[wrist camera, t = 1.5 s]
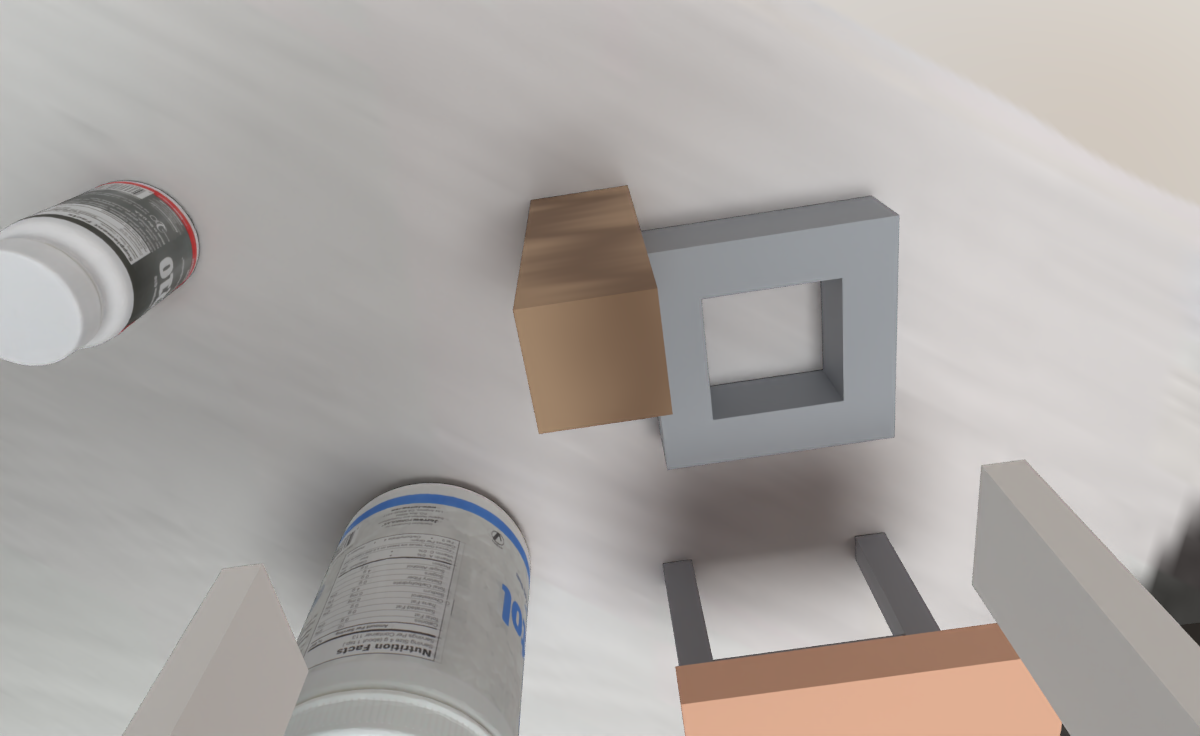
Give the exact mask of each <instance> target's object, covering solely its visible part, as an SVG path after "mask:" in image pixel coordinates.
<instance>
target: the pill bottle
mask: <svg viewBox="0 0 1200 736" xmlns="http://www.w3.org/2000/svg"><path fill="white" fill-rule="evenodd" d="M198 255H199V242H198V237H197V233H196V231H195V228H194V226H193V224H192V222H191V220H190V219H189V217H188V216H187V214H186V213H185V211H184V210H183V209H182V208H181V207H180V206H179V205H178V203H177V202H175V201H174V200H173V199H172V198H171V197H169V196H168V195H167V194H165V193H164V192H162V191H160V190H159V189H157V188H154V187H152V186H149V185H147V184H143V183H139V182H133V181H115V182H110V183H106V184H103V185H100V186H98V187H96V188H94V189H92V190H89V191H87V192H85V193H83V194H81V195H79V196H76V197H74V198H72V199H69V200H67V201H65V202H62V203H60V204H58V205H55V206H53V207H51V208H48V209H46V210H44V211H41V212H39V213H36V214H34V215H32V216H29V217H27V218H24V219H22V220H19V221H17V222H15V223H13V224H12V225H10V226H8V227H6V228H5V229H3V230H2V231H1V232H0V358H1V359H4V360H6V361H10V362H13V363H16V364H21V365H27V366H42V365H48V364H52V363H55V362H58V361H61V360H63V359H64V358H66V357H68V356H69V355H70V354H72V353H74V352H75V351H77V350H78V349H84V348H90V347H94V346H97V345H100V344H102V343H104V342H107V341H108V340H110V339H112V338H113V337H115V336H117V335H118V334H120V333H121V332H122V331H123V330H124V329H126V328H127V327H128V326H129V325H131V324H132V323H133V322H134V321H136V320H137V319H138V318H139V317H141V316H142V315H143V314H145V313H146V312H147V311H148V310H150V309H151V308H152V307H153V306H155V305H156V304H157V303H159V302H160V301H161V300H162V299H164V298H165V297H166V296H168V295H169V294H170V293H172V292H173V291H174V290H175V289H177V288H178V287H179V286H180V285H182V284H183V283H184V282H185V281H186V280H187V279H188V278H189V277H190V275H191V274H192V272H193V271H194V269H195V267H196V264H197V261H198Z"/></svg>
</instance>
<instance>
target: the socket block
mask: <svg viewBox="0 0 1200 736" xmlns="http://www.w3.org/2000/svg"><path fill="white" fill-rule="evenodd" d="M641 233H642V237H643V240H644V244H645V247H646V250H647V254H648V257H649V261H650V264H651V268H652V271H653V274H654V278H655V281H656V285H657V288H658V296H659V305H660V313H661V321H662V329H663V338H664V346H665V354H666V362H667V371H668V379H669V387H670V395H671V404H672V412H673V414H672V415H666V416H659V417H658V420H659V427H660V435H661V440H662V445H663V450H664V455H665V460H666V464H667V469H668V470H671V469H678V468H685V467H692V466H699V465H706V464H713V463H720V462H727V461H734V460H741V459H748V458H755V457H762V456H768V455H775V454H782V453H789V452H796V451H803V450H810V449H817V448H824V447H831V446H838V445H845V444H852V443H859V442H866V441H873V440H880V439H887V438H894V436H895V391H896V345H897V300H898V254H899V215H898V214H897V213H895V212H894V211H893V210H891V209H890V208H888V207H887V206H886V205H884V204H883V203H881V202H880V201H879V200H877V199H876V198H874V197H873V196H869V197H862V198H856V199H849V200H843V201H836V202H830V203H823V204H817V205H810V206H804V207H797V208H791V209H784V210H778V211H771V212H764V213H758V214H751V215H745V216H738V217H732V218H725V219H719V220H712V221H706V222H699V223H693V224H686V225H680V226H673V227H667V228H660V229H654V230H647V231H641ZM819 281H821V293H822V335H823V370H819V371H812V372H805V373H798V374H792V375H785V376H778V377H771V378H764V379H758V380H751V381H744V382H737V383H730V384H723V385H717V386H710V383H709V373H708V362H707V352H706V342H705V331H704V321H703V310H702V300H701V299H706V298H712V297H719V296H726V295H732V294H739V293H746V292H752V291H759V290H766V289H772V288H779V287H786V286H792V285H799V284H805V283H812V282H819Z"/></svg>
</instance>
